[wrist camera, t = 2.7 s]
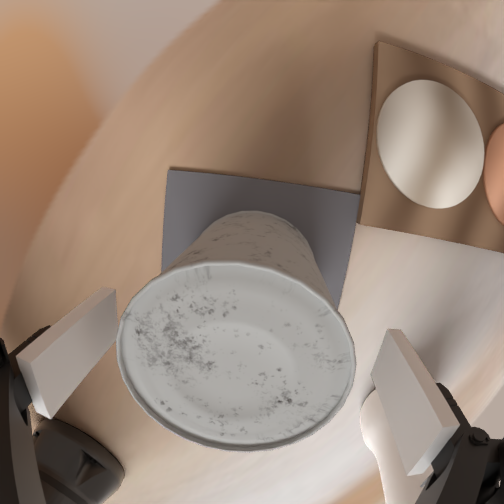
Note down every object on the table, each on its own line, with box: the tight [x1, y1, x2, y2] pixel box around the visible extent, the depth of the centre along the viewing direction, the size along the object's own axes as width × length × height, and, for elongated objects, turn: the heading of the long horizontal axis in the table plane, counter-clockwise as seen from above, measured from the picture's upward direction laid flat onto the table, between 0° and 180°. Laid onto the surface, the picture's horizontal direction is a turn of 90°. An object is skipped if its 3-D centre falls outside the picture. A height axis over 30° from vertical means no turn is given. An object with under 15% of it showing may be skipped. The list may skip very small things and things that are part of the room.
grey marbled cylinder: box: [116, 211, 356, 453], centre depth 17 cm, size 10×10×12 cm
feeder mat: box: [161, 170, 361, 309], centre depth 23 cm, size 14×14×1 cm
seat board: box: [356, 41, 504, 253], centre depth 18 cm, size 20×14×2 cm
